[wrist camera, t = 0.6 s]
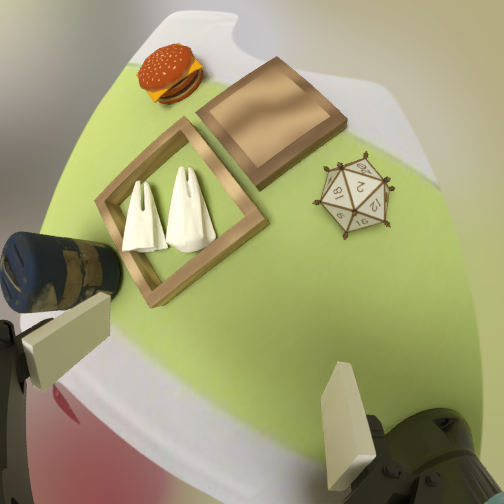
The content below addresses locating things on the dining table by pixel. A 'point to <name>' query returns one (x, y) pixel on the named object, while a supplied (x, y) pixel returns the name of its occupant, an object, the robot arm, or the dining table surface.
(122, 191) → the oak frame
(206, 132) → the dining table surface
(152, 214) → the white folded napkins
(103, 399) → the dining table surface
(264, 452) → the dining table surface
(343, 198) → the game die
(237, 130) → the walnut board
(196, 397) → the dining table surface
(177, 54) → the hamburger
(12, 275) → the canister
